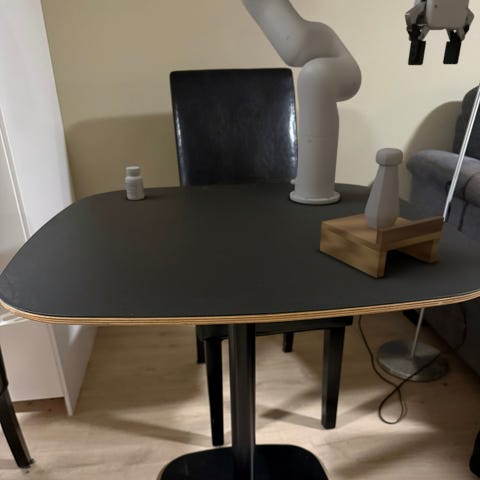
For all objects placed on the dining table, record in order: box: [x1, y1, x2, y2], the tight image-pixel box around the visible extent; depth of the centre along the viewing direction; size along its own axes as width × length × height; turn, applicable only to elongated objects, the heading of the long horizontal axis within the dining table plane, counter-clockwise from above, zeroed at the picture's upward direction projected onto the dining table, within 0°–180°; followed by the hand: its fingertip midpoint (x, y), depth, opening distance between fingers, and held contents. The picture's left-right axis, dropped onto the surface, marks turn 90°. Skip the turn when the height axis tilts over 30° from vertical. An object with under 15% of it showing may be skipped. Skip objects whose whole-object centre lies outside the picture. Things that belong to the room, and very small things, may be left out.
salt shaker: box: [364, 147, 404, 229], centre depth 81 cm, size 6×6×13 cm
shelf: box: [319, 212, 445, 279], centre depth 85 cm, size 15×14×8 cm
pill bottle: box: [124, 165, 145, 201], centre depth 123 cm, size 4×4×8 cm
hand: (432, 64), depth 93 cm, fingers open, 9 cm apart
